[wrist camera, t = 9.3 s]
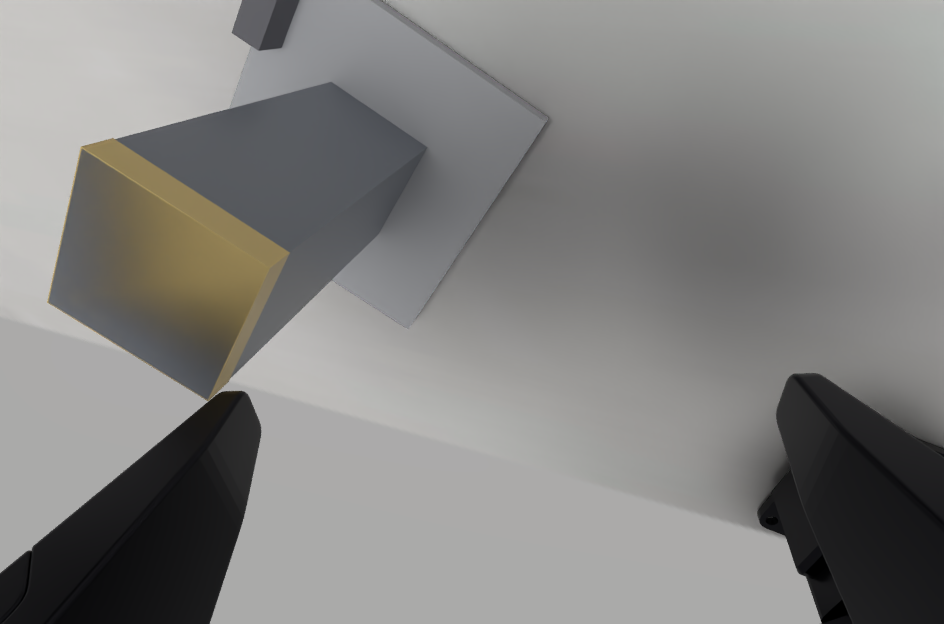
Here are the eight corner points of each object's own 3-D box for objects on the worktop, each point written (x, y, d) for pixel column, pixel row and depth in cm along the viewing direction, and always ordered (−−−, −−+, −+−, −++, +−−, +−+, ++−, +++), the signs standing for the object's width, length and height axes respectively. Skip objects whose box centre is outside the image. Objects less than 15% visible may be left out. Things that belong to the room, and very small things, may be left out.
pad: (548, 117, 20) (540, 131, 18) (415, 318, 25) (396, 347, 23) (302, -55, 19) (262, -63, 17) (213, 187, 24) (175, 205, 22)
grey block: (428, 147, 21) (269, 267, 11) (378, 234, 23) (208, 401, 13) (330, 80, 20) (80, 146, 11) (289, 175, 22) (47, 302, 13)
